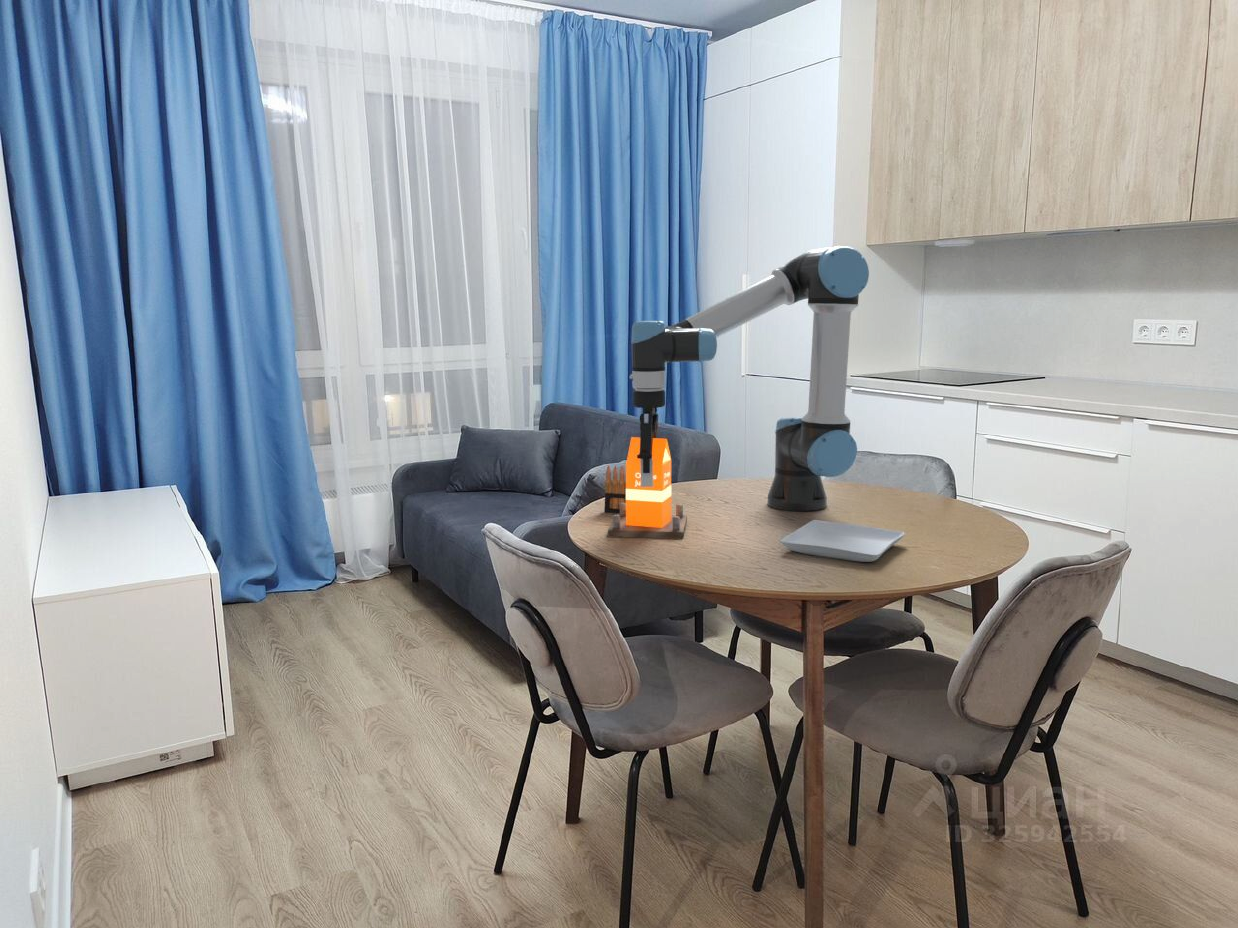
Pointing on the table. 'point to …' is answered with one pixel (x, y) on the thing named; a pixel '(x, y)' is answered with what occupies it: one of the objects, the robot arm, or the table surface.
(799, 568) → the table surface
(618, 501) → the ammunition clip
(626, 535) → the peg stand
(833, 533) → the salad plate
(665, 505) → the orange juice
